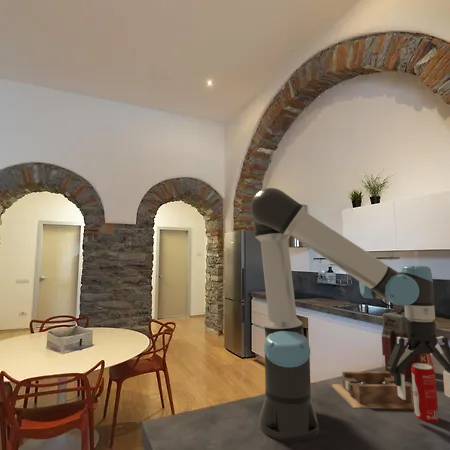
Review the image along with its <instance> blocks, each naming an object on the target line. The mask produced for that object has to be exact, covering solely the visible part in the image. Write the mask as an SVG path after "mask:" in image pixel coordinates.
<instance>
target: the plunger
mask: <svg viewBox="0 0 450 450" xmlns="http://www.w3.org/2000/svg"><path fill="white" fill-rule="evenodd" d="M352 384H367V383H366V382H361V383H350V382H349V381H345V387H346V389H347V390H348V391H351V388H352Z"/></svg>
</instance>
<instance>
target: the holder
mask: <svg viewBox="0 0 450 450" xmlns="http://www.w3.org/2000/svg"><path fill="white" fill-rule="evenodd" d="M345 381H349V382H350V383H361V382H366V383H367V384H352V388H351V391H348V390H347V389H346V387H345ZM384 381H386V382H388V383H392V384H382V382H384ZM331 386H332V388H333V389H334V390H335V391H336V393H338V394H339V395H340V397H342V398H343V399H344V401H346V402H347V403H348V404H349V405H350V406H351V407H352V408H353V409H396V410H397V409H400V410H401V409H409V410H410V409H412V410H413V409H414V397H413V396H412V386H411V385H410V384H408V383H405V393H406V400H403V399H402V398H400V397H399V396H398V391H397V385H395V383H394V377H393V376H391V373H390V372H388V371H385V370H384V371H383V370H382V371H381V370H380V371H374V370H373V371H342V383H341V384H340V383H339V384H338V383H336V384H331ZM414 410H415V409H414Z"/></svg>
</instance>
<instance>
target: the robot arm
mask: <svg viewBox="0 0 450 450" xmlns="http://www.w3.org/2000/svg"><path fill="white" fill-rule="evenodd" d="M250 212H251V215H252V218H253V226H254V227H253V229H254V235H255V236H254V237H255V239H257V240H258V241H259V243H260V248H261V258H262V268H263V276H264V277H263V278H264V287H265V296H266V297H265V298H266V308H267V316H268V317H267V318H268V319H267V321H266V322H265V323H264V324H263V325H264V326H263V327H264V336H265V340H264V346H263V352H264V376H265V377H264V382H265V383H264V389H265V390H264V391H265V392H264V393H265V398H264V400H263V404H262V407H261V410H260V413H259V418H258V427H259V429H260V431H261V432H262V433H263V434H265V435H266V436H268V437H270V438H272V439H274V440H278V441H281V442H286V443H306V442H310V441H313V440H314V439H316V438H317V437H318V435H319V434H320V426H319V425H320V424H319V420H318V417H317V414H316V412H315V409H314V406H313V403H312V393H311V391H312V389H311V358H310V356H311V347H310V342H309V339H308V338H307V337H306V336H305V333H304V326H303V325H304V324H303V322H302V321H301V319H299V318H298V317H297V316H298V315H297V309H296V301H295V291H294V290H295V289H294V282H293V274H292V265H291V264H292V263H291V256H290V248H289V239H290V237H292V238H294V239H295V240H297V241H299V242H300V243H301V244H303V245H304V246H306V247H308V248H309V249H310V250H312V251H314V252H315V253H316V254H318V255H320V256H321V257H323V258H324V259H325V260H327V261H329V262H330V263H332V264H333V265H334V266H335V267H338V269H340V270H342V271H344V272H345V273H346V274H347V275H349V276H350V277H353V278H354V279H355V280H357V281H358V285H359V292H360V295H361V297H363V298H365V299H372V300H374V299H379V300H384V301H387V302H389V303H391V304H392V305H393V304H395V305H402V306H404V307H405V312H404V313H405V317H406V318H407V319H406V320H405V323H406V332H407V337H406V338H401V337H399V336H397V337H396V344H395V347H394V349H393V351H392V354H391V356H390V359H389V361H388V364H387V366H386V368H387V369H388V370H389V371H391V372H393V373H394V376H393V378H394V383H395V385H397V391H398V396H399V397H400V398H402V399H403V400H406V393H405V384H406V382H405V378H404V375H403V374H402V372H403V370H404V369H405V368H406V366H407V365H408V363H409V362H410V361H411V359H412V358H413V357H414V356H416V354H417V353H418V354H424V353H425V354H431V356H432V357H434V358H435V359H436V361H437V362H438V363H439V364H440V365H441V366H442V368H443V369H444V370H443V371H442V375H443V376H442V377H443V389H444V391H443V392H444V396H446V397H448V398H449V399H450V345H449V339H448V338H447V337H446V336H444V335H443V336H442V335H438V336H437V323H436V322H435V319H436V311H435V310H436V309H435V301H434V300H435V299H434V280H433V274H432V269H431V267H429V266H428V265H403V266H402V267H401V271H399V272H398V271H396V270H395V269H394V268H392V267H390V266H388V265H387V264H386V263H384V262H383V261H382V260H380V259H378V258H377V257H376V256H374V255H372V254H371V253H370V252H368V251H367V250H365V249H364V248H361V246H358V245H357V244H356V243H354V242H352V241H351V240H349V239H348V238H346V237H345V236H343V235H342V234H340V233H339V232H338V231H336V230H334V229H332V228H331V227H330V226H328V225H326V224H325V223H324V222H321V221H320V220H319V219H317V218H315V217H314V216H313V215H311V214H310V213H308V212H306V209H305V206H304V205H303V204H301V203H299V202H298V201H297V200H295V199H294V198H293V197H291V196H290V195H288V194H287V193H285V192H284V191H282V190H281V189H278V188H274V187H266V188H263V189H261V190H260V191H257V193H256V194H255V195H254V196H253V197H252V200H251V203H250ZM406 343H407V344H408V346H407V348H406V349H405V352H404V354H403V355H402V352H403V350H404V346H405V345H406ZM437 344H438V345H439V346H440V347H439V348H440V349H441V351H442V352H443V355H444V356H445V357H444V356H443V355H442V354H441V352H440V350H439V349H438V348H437V347H436V346H437ZM411 350H412V351H411ZM401 355H402V356H401ZM400 357H401V358H400Z"/></svg>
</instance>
